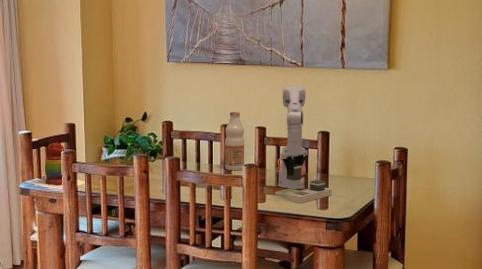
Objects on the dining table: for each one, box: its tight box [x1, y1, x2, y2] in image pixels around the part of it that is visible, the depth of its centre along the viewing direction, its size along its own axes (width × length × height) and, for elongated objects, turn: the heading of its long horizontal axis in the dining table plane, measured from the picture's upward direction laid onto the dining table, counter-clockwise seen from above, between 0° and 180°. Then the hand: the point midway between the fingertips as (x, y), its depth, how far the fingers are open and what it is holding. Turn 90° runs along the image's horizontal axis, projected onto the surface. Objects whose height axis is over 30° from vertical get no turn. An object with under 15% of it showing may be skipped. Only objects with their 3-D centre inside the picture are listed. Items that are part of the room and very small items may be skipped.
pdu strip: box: [286, 187, 333, 204], centre depth 279 cm, size 7×20×3 cm, turn 136°
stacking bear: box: [44, 141, 66, 186], centre depth 306 cm, size 11×10×18 cm
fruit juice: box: [224, 111, 245, 171], centre depth 340 cm, size 9×9×28 cm
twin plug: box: [309, 179, 326, 192], centre depth 282 cm, size 4×4×6 cm
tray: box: [274, 188, 299, 198], centre depth 285 cm, size 9×9×2 cm
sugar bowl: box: [275, 157, 307, 177], centre depth 325 cm, size 12×14×10 cm
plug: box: [287, 163, 302, 181], centre depth 281 cm, size 4×4×6 cm
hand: (293, 174), depth 281 cm, fingers closed on plug, 4 cm apart
